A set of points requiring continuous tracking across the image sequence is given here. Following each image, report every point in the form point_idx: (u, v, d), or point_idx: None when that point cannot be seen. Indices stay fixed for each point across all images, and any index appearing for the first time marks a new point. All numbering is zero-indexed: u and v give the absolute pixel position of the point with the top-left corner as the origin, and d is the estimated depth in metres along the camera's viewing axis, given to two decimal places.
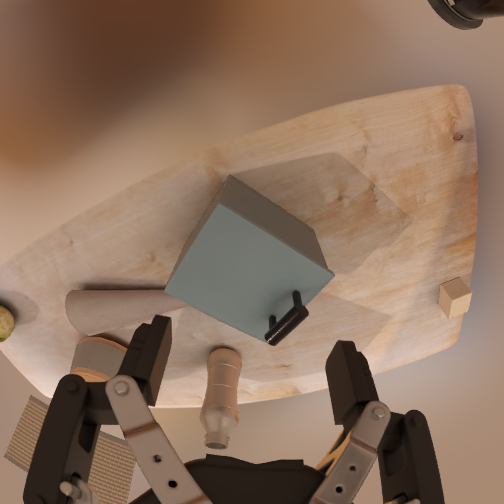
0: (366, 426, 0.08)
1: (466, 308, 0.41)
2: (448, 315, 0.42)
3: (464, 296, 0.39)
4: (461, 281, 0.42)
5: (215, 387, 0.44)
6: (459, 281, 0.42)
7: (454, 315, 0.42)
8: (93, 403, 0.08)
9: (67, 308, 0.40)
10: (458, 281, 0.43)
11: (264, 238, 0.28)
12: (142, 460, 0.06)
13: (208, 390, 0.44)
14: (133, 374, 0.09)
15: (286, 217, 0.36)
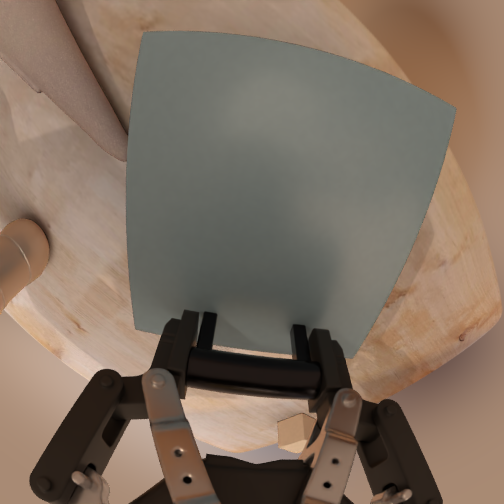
0: (335, 412, 0.09)
1: (299, 451, 0.37)
2: (282, 445, 0.36)
3: None
4: None
5: None
6: None
7: (286, 448, 0.36)
8: (126, 401, 0.08)
9: None
10: None
11: (411, 221, 0.11)
12: (163, 452, 0.06)
13: None
14: (168, 367, 0.09)
15: None
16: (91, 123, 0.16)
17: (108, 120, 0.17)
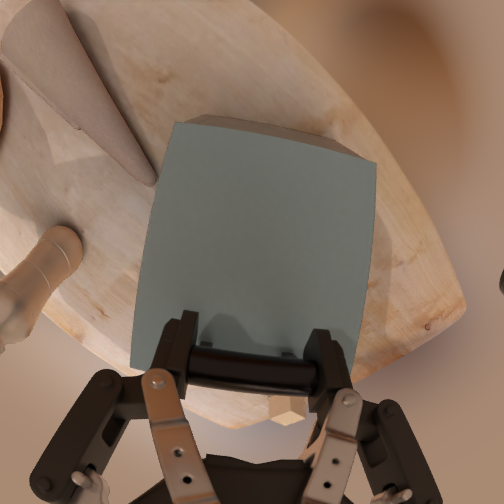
0: (335, 412, 0.09)
1: (287, 423, 0.46)
2: (272, 416, 0.45)
3: (299, 415, 0.45)
4: (303, 402, 0.48)
5: (36, 273, 0.23)
6: (302, 400, 0.48)
7: (275, 420, 0.45)
8: (125, 401, 0.08)
9: (32, 3, 0.11)
10: (301, 399, 0.48)
11: (362, 247, 0.16)
12: (162, 452, 0.06)
13: (25, 267, 0.22)
14: (168, 367, 0.09)
15: None
16: (124, 158, 0.24)
17: (137, 156, 0.25)
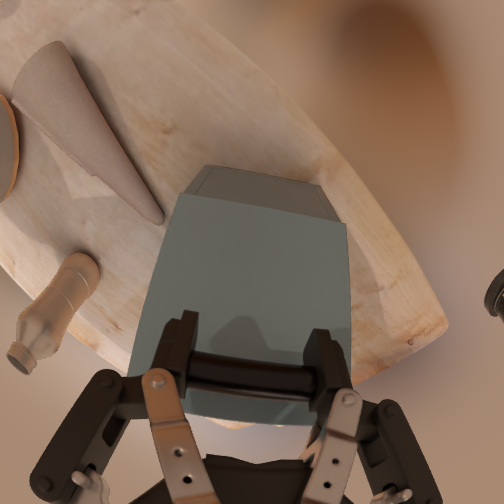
0: (335, 412, 0.09)
1: (281, 425, 0.51)
2: None
3: None
4: None
5: (61, 298, 0.29)
6: None
7: None
8: (125, 401, 0.08)
9: (39, 53, 0.16)
10: None
11: (341, 288, 0.18)
12: (162, 452, 0.06)
13: (51, 293, 0.28)
14: (168, 367, 0.09)
15: None
16: (136, 203, 0.30)
17: (147, 201, 0.30)
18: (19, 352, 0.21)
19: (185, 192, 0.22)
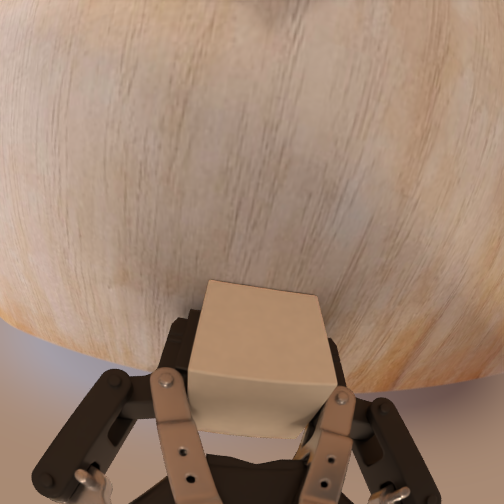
0: (328, 410, 0.09)
1: (212, 428, 0.10)
2: (216, 369, 0.08)
3: (306, 422, 0.10)
4: None
5: None
6: None
7: (202, 394, 0.09)
8: (133, 401, 0.08)
9: None
10: None
11: None
12: (167, 451, 0.06)
13: None
14: (176, 366, 0.10)
15: None
16: None
17: None
18: None
19: None
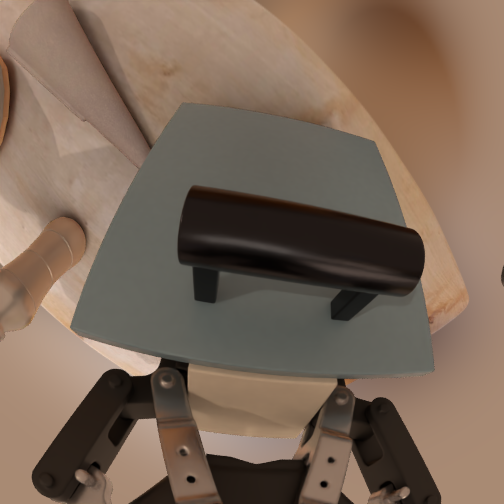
0: (327, 410, 0.09)
1: (212, 427, 0.10)
2: (216, 369, 0.08)
3: (306, 421, 0.10)
4: None
5: (38, 261, 0.23)
6: None
7: (202, 394, 0.09)
8: (134, 401, 0.08)
9: None
10: None
11: (387, 195, 0.13)
12: (168, 451, 0.06)
13: (28, 255, 0.23)
14: (177, 366, 0.10)
15: None
16: (129, 148, 0.25)
17: (142, 146, 0.25)
18: None
19: None
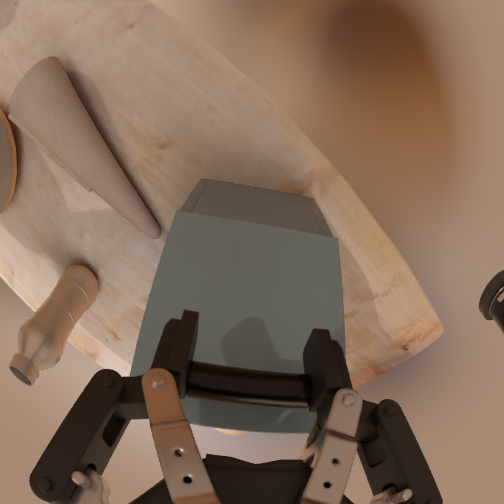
0: (335, 412, 0.09)
1: None
2: None
3: None
4: None
5: (61, 310, 0.29)
6: None
7: None
8: (126, 401, 0.08)
9: (35, 69, 0.17)
10: None
11: (334, 300, 0.19)
12: (163, 452, 0.06)
13: (51, 305, 0.28)
14: (168, 367, 0.09)
15: None
16: (133, 218, 0.30)
17: (144, 216, 0.31)
18: (22, 364, 0.21)
19: (181, 209, 0.22)
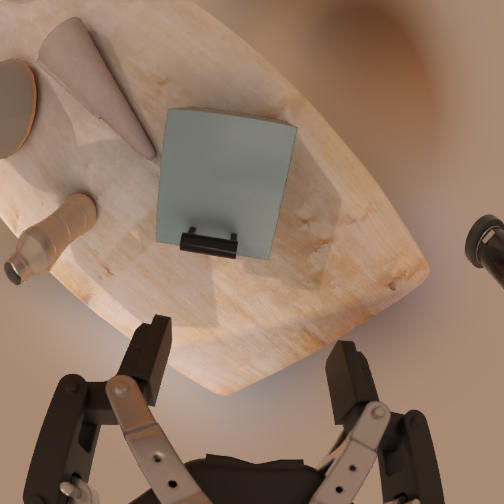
0: (366, 426, 0.08)
1: None
2: None
3: None
4: None
5: (60, 222, 0.32)
6: None
7: None
8: (93, 403, 0.08)
9: (63, 24, 0.21)
10: None
11: (279, 180, 0.28)
12: (142, 460, 0.06)
13: (52, 218, 0.32)
14: (133, 374, 0.09)
15: None
16: (133, 139, 0.34)
17: (142, 138, 0.34)
18: (16, 259, 0.24)
19: (173, 108, 0.26)
